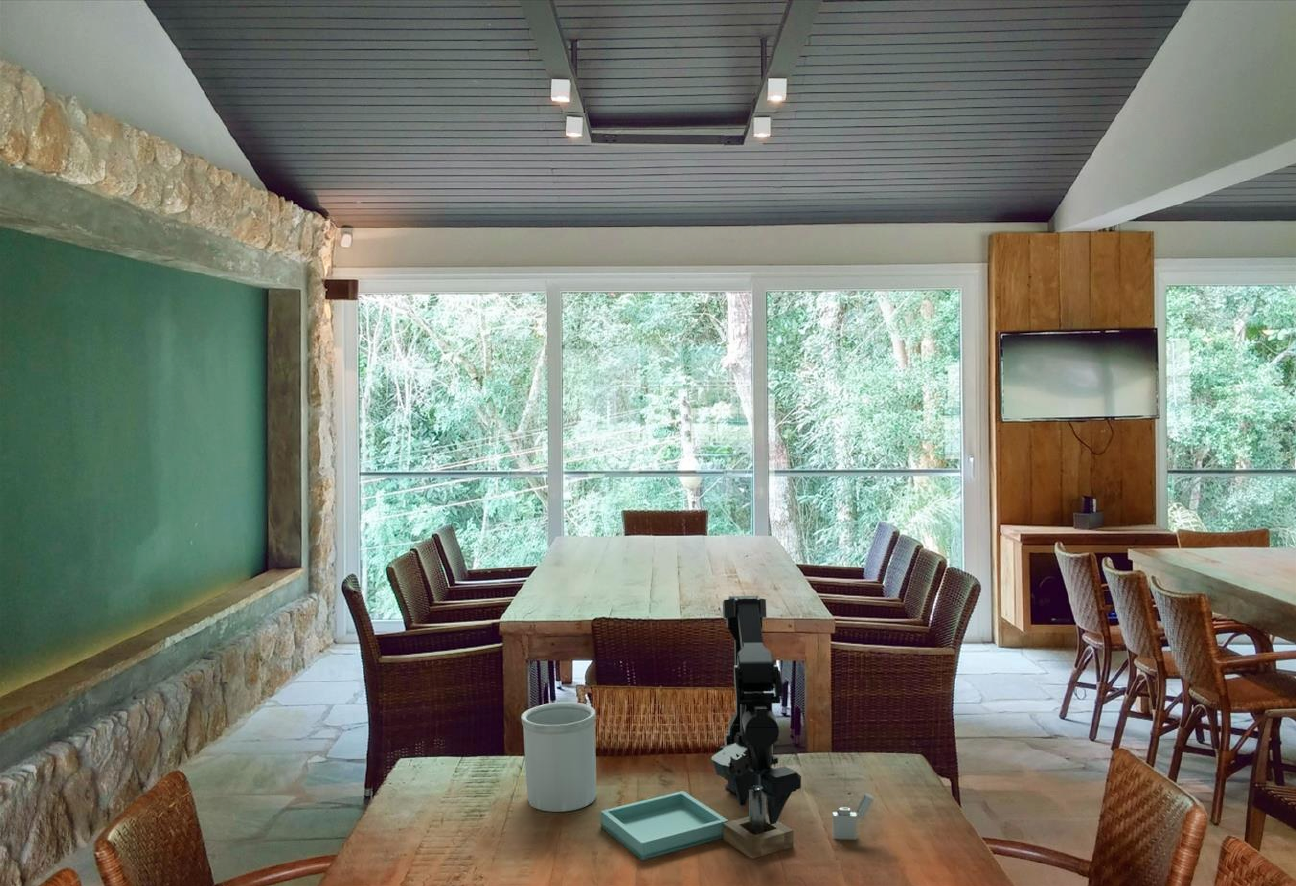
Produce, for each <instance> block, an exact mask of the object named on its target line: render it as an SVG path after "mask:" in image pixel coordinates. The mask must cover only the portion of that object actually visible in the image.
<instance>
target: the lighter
mask: <svg viewBox="0 0 1296 886" xmlns="http://www.w3.org/2000/svg"><path fill="white" fill-rule="evenodd" d="M861 798H862V799H861V801H860V803H859V804H858V807H857V809H856V810H855V811H851V808H850V807H839V808H838V809H837V810H836V811H833V812H832V838H833V840H857V839H858V832H857V831H858V830H857V829H858V828H857V827H858V822H857V819H858V818H860V819H862V820H864V819H865V817H866V815H867V813H868V811H869V809H870V807H871V805H872V803H873V802H874V797H873V795H872V794H869V793H867V792H865V793H864V794H863V797H861ZM857 817H858V818H857Z"/></svg>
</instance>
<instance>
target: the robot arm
mask: <svg viewBox="0 0 1296 886" xmlns="http://www.w3.org/2000/svg"><path fill="white" fill-rule="evenodd" d="M766 618H767V599H766V598H760V597H759V595H729V596H728V598H727V599H724V600H723V601H722V619H723V620H725V621H726V624H725V625H726V627H727V630H728V631H729V632H730V635H731V636H732V638H733V640H734V642H733V643H734V665H733V682H734V683H733V684H734V694H735V695H734V696H735V711H734V713H733V715H732V717H731V718H730V720H729V722H728V724H727V725H728V733H725V736H724V745H721V746H719V747H718V749H717V750H716V751H715V754H713V755H712V756H711V761H712V764H713V765H712V766H713V768H714V770H715V773H716V775H717V776H721V777H722V778H724V780H726V781H727V784H725V786H724V788H725V789H727V790H728V791H730V792H731V793H734V794H735V795H736V797H737V800H738V803H739V806H741V807H744V806H746V805H747V802H748V800H749V787H750V786H754V785H760V786H762V787H763V789H760V790H761V791H762V792H763V793H764V794H765V795H766V806H767V813H768V814H767V815H769V821H770V824H775V823H776V822H777V821H779V818H780V816H781V814H782V811H783V810H784V807H785V805H786V803H787V801H788V800H789V799H790V796H791V794H792V793H794V792H796V791H797V790H800V789H802V775H800V774H799V773H798V772H797V771H795V770H793V769H792V768H789V767H787V766H780V767H777V768H773V765H776V764H779V758H778V757H777V756H776V755H774V754H773V753H774V744H775V743H776V742H777V741H778V739H779V735H780V730H779V726H778V722H777V720H776V717H775V714H774V711H773V704H781V697H783V694H784V691H783V683H782V682H783V681H782V673H781V671H780V670H779V666H778V664H775V663H774V659H773V653H772V652H771V651H770V650H769V649H767V648H766V647H765V644H764V637H763V630H762V629H763V620H764V619H766ZM773 691H774V692H773Z"/></svg>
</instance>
